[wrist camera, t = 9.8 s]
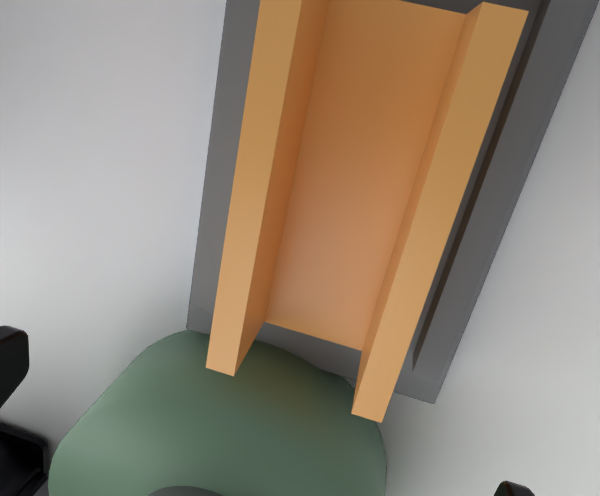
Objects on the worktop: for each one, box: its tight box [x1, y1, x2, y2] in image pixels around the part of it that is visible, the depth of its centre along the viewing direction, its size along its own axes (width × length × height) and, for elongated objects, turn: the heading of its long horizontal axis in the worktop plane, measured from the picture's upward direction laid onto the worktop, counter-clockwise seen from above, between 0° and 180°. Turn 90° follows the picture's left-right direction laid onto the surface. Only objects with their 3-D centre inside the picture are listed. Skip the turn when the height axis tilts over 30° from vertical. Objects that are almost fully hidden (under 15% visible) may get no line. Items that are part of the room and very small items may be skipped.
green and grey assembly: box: [48, 0, 599, 496], centre depth 17 cm, size 14×30×9 cm, turn 169°
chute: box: [206, 0, 529, 423], centre depth 15 cm, size 12×6×4 cm, turn 169°
